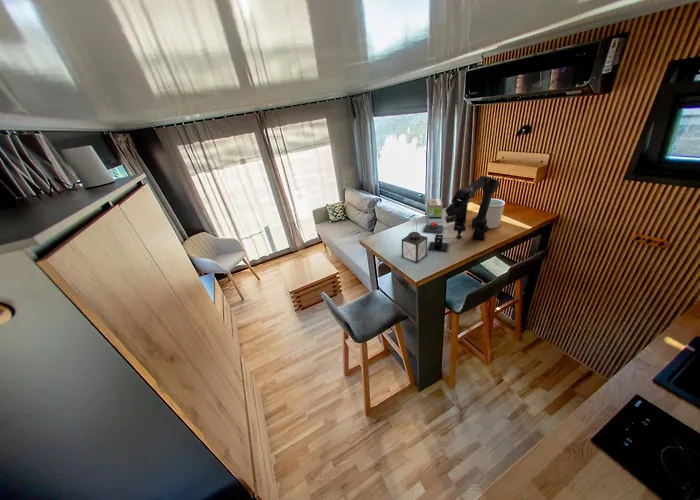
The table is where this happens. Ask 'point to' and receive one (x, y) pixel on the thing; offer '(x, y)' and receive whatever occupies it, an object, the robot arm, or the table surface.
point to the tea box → (434, 210)
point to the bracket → (438, 244)
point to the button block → (433, 228)
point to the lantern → (414, 246)
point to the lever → (451, 237)
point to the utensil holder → (494, 213)
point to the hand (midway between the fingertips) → (458, 234)
